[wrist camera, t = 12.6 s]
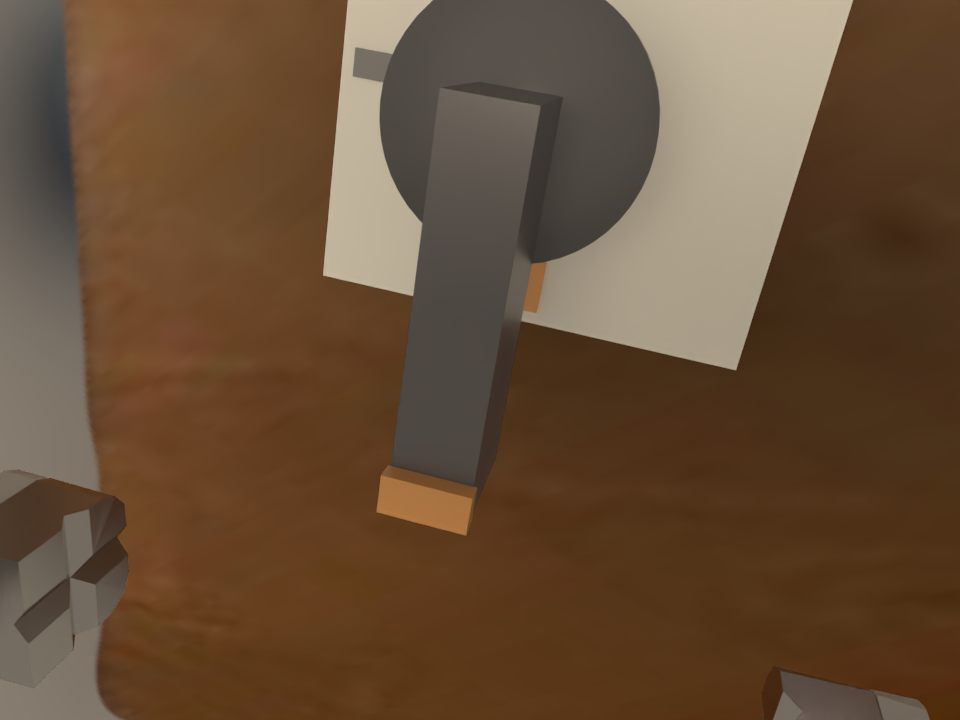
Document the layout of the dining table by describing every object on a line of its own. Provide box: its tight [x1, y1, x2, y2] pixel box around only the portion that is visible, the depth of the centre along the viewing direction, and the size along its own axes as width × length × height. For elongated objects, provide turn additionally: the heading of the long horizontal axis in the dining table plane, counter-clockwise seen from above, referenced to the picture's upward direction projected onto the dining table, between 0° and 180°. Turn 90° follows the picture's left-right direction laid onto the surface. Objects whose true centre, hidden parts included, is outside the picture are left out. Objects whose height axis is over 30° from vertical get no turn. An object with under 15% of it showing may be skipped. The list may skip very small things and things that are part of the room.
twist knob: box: [377, 0, 660, 535], centre depth 23 cm, size 14×8×7 cm, turn 171°
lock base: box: [323, 0, 853, 370], centre depth 30 cm, size 20×20×12 cm
